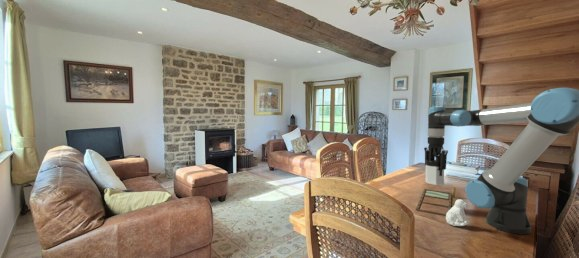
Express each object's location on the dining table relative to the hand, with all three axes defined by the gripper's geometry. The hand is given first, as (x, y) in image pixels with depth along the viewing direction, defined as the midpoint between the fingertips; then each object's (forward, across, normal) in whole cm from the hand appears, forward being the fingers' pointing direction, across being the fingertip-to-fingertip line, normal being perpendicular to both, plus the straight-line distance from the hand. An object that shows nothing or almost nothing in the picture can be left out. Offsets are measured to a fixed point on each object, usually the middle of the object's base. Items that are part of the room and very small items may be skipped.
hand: (434, 181), depth 132 cm
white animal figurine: (+15, -20, +6) cm, 25 cm away
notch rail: (+15, +9, -10) cm, 20 cm away
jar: (+1, 0, 0) cm, 1 cm away
